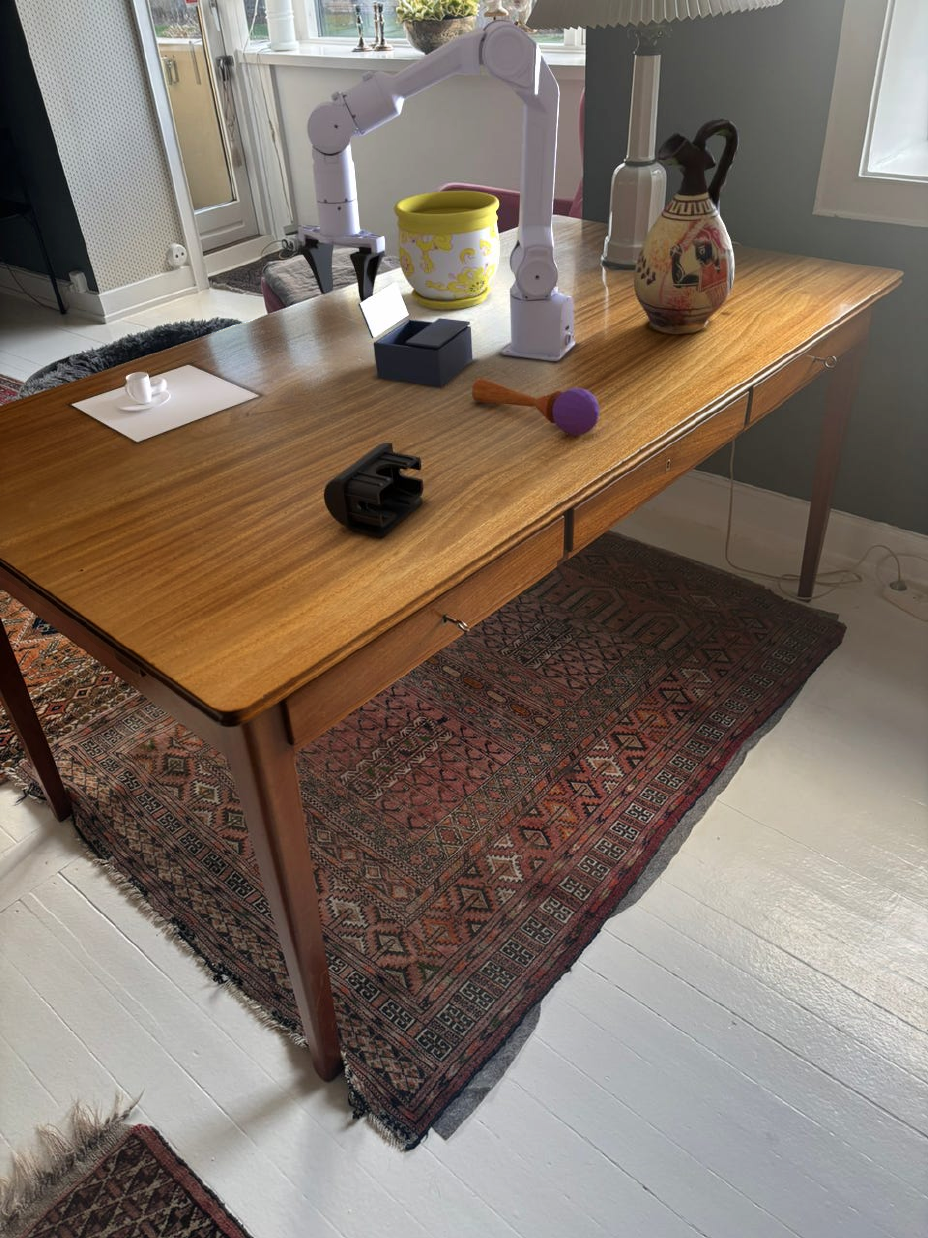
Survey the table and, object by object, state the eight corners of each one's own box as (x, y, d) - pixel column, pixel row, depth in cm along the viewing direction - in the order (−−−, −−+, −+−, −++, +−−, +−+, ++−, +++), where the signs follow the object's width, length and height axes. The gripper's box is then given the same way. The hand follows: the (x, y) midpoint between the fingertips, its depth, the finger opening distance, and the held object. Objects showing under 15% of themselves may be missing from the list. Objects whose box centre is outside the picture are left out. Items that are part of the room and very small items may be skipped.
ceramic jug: (657, 347, 145) (673, 133, 128) (616, 317, 157) (625, 117, 140) (755, 331, 149) (784, 120, 131) (708, 303, 161) (728, 106, 143)
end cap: (376, 489, 113) (370, 437, 109) (426, 500, 110) (422, 448, 106) (327, 528, 106) (318, 474, 102) (379, 541, 103) (373, 487, 99)
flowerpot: (382, 300, 171) (372, 204, 162) (457, 277, 180) (452, 185, 171) (445, 322, 160) (438, 220, 150) (522, 296, 169) (520, 199, 159)
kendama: (495, 366, 132) (610, 389, 119) (493, 408, 135) (606, 435, 122) (465, 371, 128) (581, 395, 116) (464, 414, 131) (578, 442, 118)
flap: (373, 338, 138) (371, 338, 138) (408, 314, 145) (406, 315, 145) (359, 303, 135) (357, 303, 136) (396, 281, 143) (394, 281, 143)
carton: (377, 377, 141) (372, 337, 138) (411, 352, 149) (408, 314, 145) (440, 386, 137) (437, 345, 134) (472, 360, 145) (470, 321, 141)
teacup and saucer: (158, 385, 143) (152, 359, 141) (186, 398, 138) (179, 372, 136) (105, 404, 138) (98, 377, 136) (132, 418, 134) (124, 391, 131)
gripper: (279, 199, 133) (292, 296, 141) (359, 210, 127) (368, 310, 135) (311, 189, 138) (322, 283, 146) (390, 199, 131) (397, 297, 139)
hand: (346, 295), depth 141 cm, fingers open, 7 cm apart
